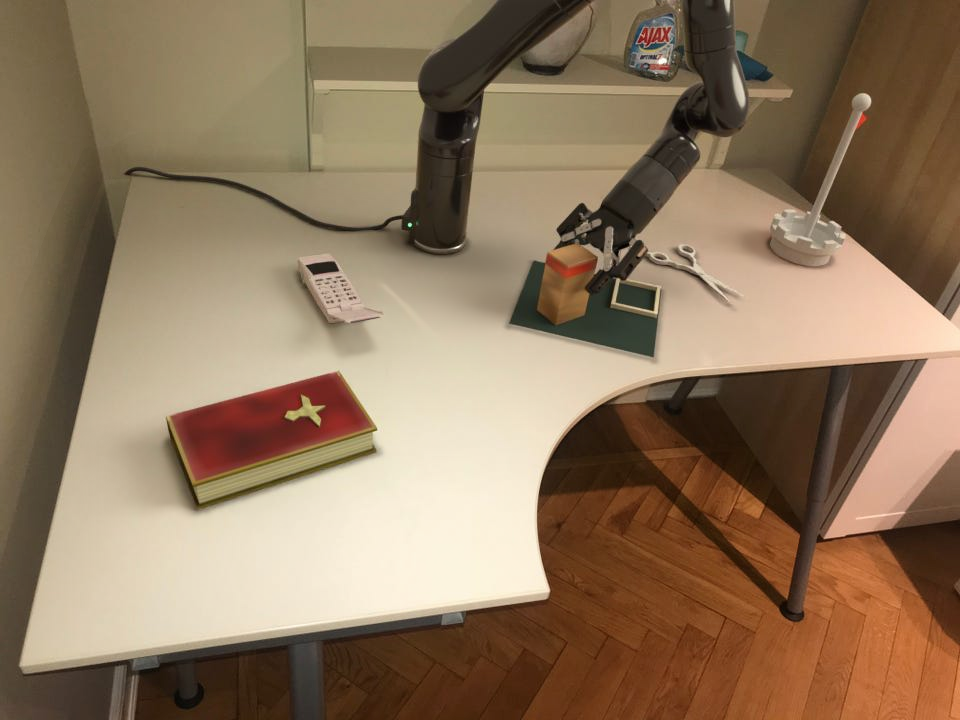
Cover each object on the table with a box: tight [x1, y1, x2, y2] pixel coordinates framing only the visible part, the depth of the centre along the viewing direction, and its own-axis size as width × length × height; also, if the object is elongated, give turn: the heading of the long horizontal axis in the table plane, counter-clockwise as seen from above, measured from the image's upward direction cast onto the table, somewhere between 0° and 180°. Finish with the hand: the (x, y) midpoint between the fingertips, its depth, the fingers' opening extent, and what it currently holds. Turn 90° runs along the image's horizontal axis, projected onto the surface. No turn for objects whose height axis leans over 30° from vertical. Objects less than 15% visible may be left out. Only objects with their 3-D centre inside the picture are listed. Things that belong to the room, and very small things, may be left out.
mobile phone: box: [296, 253, 385, 324], centre depth 113 cm, size 6×6×25 cm
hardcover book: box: [165, 370, 378, 511], centre depth 89 cm, size 12×21×4 cm, turn 121°
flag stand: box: [769, 92, 872, 267], centre depth 136 cm, size 13×13×30 cm
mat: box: [508, 260, 662, 358], centre depth 121 cm, size 22×20×1 cm
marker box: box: [537, 243, 599, 325], centre depth 116 cm, size 5×6×10 cm
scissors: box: [644, 243, 748, 305], centre depth 133 cm, size 11×1×20 cm
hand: (569, 278), depth 115 cm, fingers open, 8 cm apart
